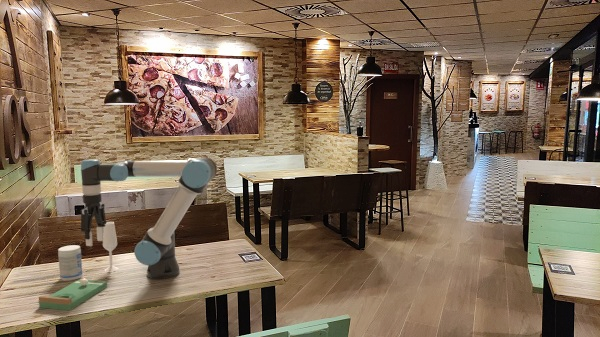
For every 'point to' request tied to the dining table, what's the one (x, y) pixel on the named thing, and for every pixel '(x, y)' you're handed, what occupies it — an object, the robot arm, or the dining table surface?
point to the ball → (84, 282)
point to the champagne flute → (109, 243)
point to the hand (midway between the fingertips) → (95, 243)
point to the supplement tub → (70, 262)
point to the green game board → (71, 295)
